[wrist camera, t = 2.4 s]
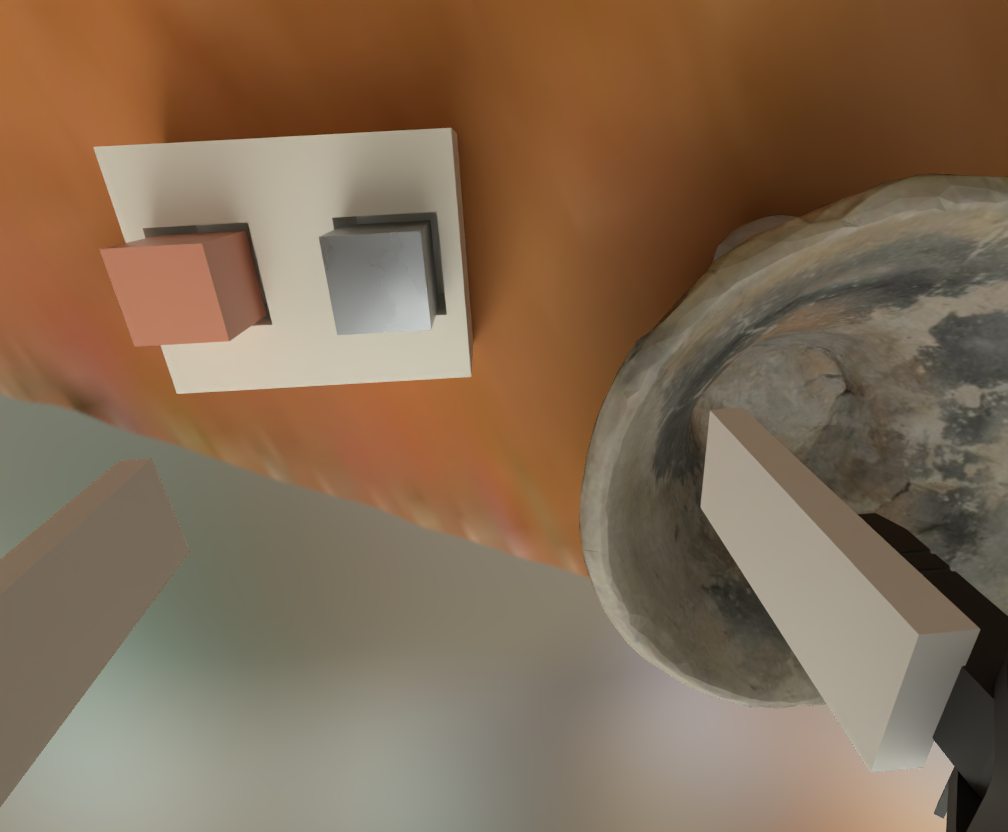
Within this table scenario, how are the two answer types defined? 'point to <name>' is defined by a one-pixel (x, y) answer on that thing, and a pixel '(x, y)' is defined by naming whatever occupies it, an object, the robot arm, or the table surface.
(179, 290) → the pink cube
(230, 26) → the table surface
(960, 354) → the bowl
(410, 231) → the grey metal cube
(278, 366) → the block
